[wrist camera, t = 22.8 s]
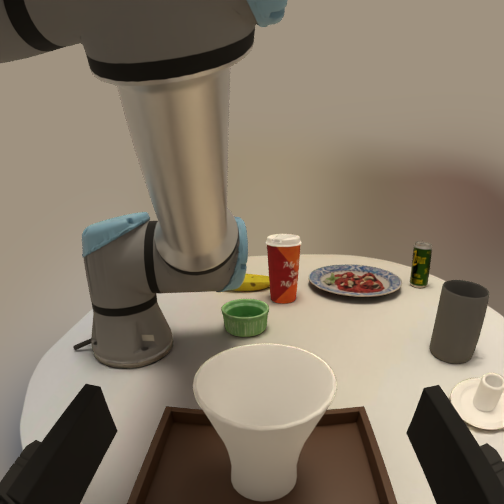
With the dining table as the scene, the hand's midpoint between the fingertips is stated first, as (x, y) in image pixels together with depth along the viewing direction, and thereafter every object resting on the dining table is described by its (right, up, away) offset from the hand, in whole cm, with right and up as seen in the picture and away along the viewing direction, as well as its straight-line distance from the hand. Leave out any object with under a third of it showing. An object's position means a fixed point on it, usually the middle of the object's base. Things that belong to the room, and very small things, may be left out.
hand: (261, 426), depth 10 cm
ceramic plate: (+27, -3, +69) cm, 74 cm away
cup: (+1, -16, +14) cm, 21 cm away
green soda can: (+46, -3, +66) cm, 81 cm away
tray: (+1, -16, +14) cm, 22 cm away
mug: (+37, -11, +35) cm, 52 cm away
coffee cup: (+7, -5, +62) cm, 63 cm away
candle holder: (+32, -15, +18) cm, 40 cm away
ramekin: (-2, -8, +48) cm, 49 cm away
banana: (-3, -2, +74) cm, 74 cm away
